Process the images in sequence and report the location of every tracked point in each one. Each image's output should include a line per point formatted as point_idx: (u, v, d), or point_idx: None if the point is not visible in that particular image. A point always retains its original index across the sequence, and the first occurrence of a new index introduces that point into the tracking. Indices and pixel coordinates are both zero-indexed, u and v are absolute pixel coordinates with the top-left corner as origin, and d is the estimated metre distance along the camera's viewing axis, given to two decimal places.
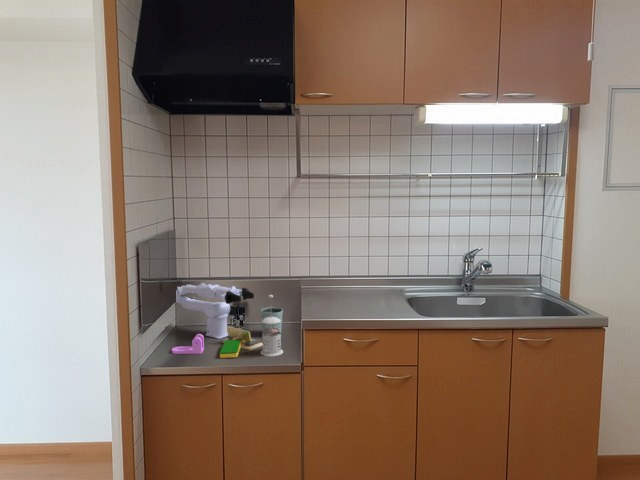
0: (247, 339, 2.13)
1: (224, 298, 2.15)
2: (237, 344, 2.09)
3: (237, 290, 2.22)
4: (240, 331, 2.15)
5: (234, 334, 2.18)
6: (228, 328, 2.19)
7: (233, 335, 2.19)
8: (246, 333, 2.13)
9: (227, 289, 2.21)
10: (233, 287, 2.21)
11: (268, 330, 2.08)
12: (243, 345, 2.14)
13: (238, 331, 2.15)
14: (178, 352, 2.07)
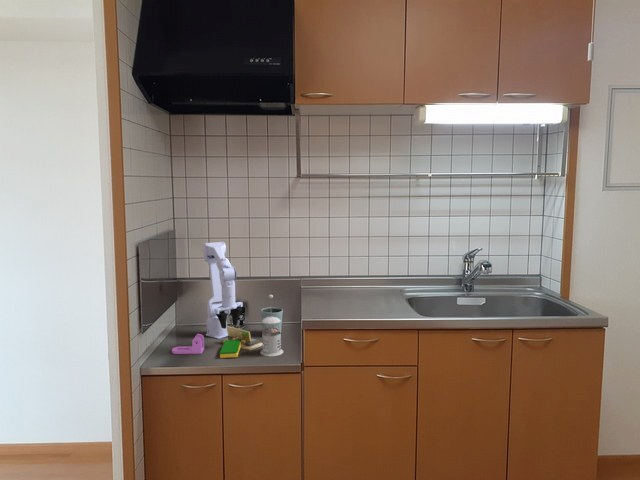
0: (247, 339, 2.13)
1: None
2: (237, 344, 2.09)
3: None
4: (240, 331, 2.15)
5: (234, 334, 2.18)
6: (228, 328, 2.19)
7: (233, 335, 2.19)
8: (246, 333, 2.13)
9: (230, 302, 2.08)
10: None
11: (268, 330, 2.08)
12: (243, 345, 2.14)
13: (238, 331, 2.15)
14: (178, 352, 2.07)
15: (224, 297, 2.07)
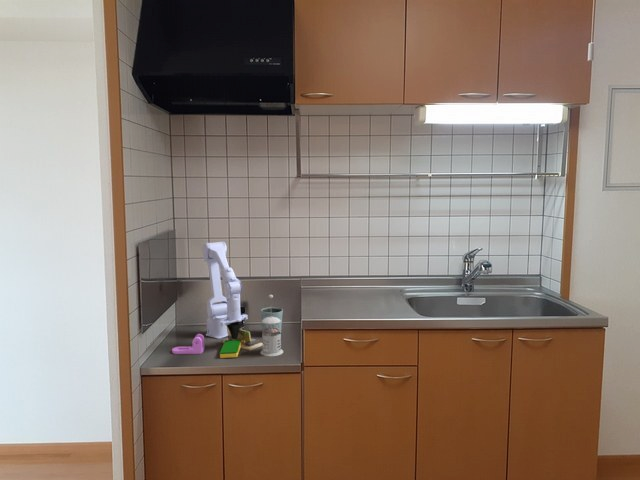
0: (247, 339, 2.13)
1: None
2: (237, 344, 2.09)
3: None
4: (240, 331, 2.15)
5: None
6: None
7: None
8: (246, 333, 2.13)
9: (235, 315, 2.11)
10: (239, 321, 2.11)
11: (268, 330, 2.08)
12: (243, 345, 2.14)
13: None
14: (178, 352, 2.07)
15: (229, 310, 2.11)
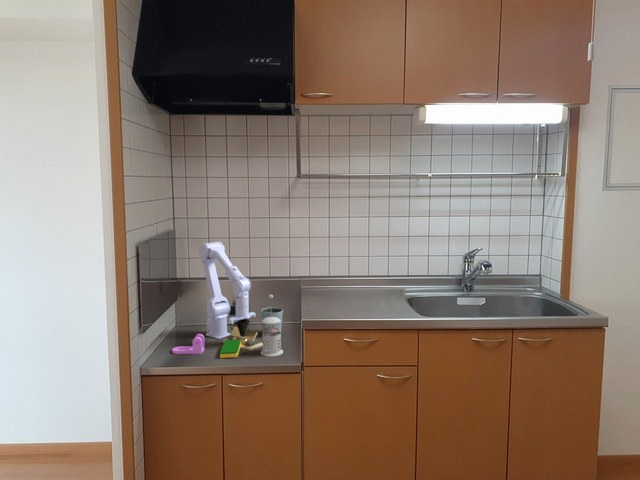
0: (251, 338, 2.15)
1: None
2: (237, 344, 2.09)
3: None
4: (247, 331, 2.18)
5: (239, 333, 2.20)
6: (235, 328, 2.23)
7: (236, 334, 2.20)
8: (253, 333, 2.16)
9: (244, 312, 2.15)
10: None
11: (268, 330, 2.08)
12: (243, 345, 2.14)
13: (246, 331, 2.19)
14: (178, 352, 2.07)
15: (238, 307, 2.14)
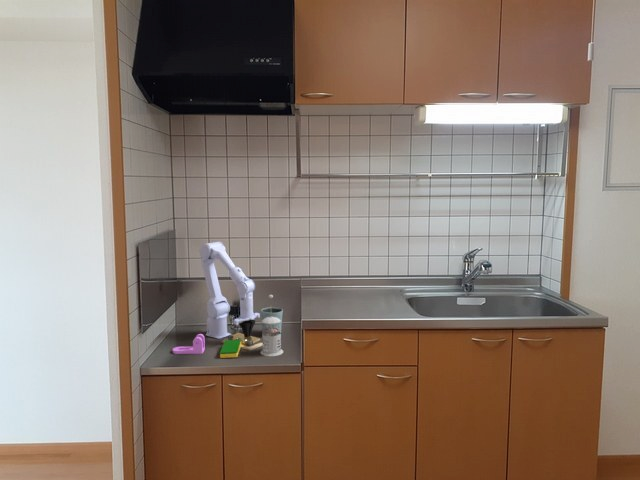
0: (252, 340, 2.16)
1: None
2: (237, 344, 2.09)
3: None
4: (250, 336, 2.20)
5: (241, 336, 2.21)
6: (238, 333, 2.25)
7: (238, 336, 2.21)
8: (256, 338, 2.18)
9: (248, 313, 2.17)
10: None
11: (268, 330, 2.08)
12: (243, 345, 2.14)
13: None
14: (179, 352, 2.07)
15: (242, 308, 2.17)
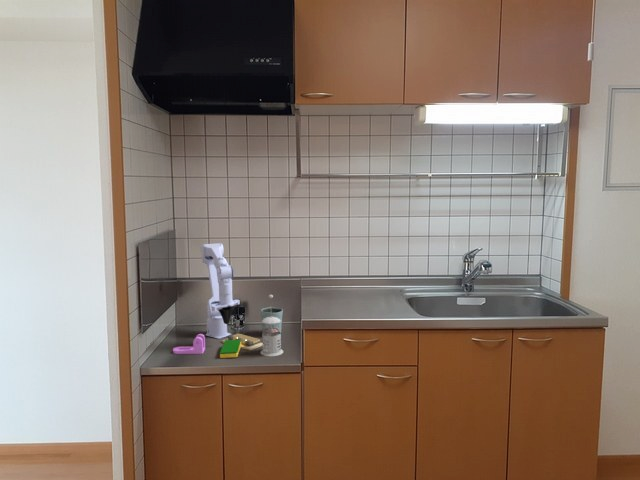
0: (252, 340, 2.16)
1: (214, 310, 2.10)
2: (237, 344, 2.09)
3: None
4: (250, 337, 2.20)
5: (241, 336, 2.21)
6: (238, 334, 2.25)
7: (238, 336, 2.21)
8: (256, 339, 2.18)
9: (227, 299, 2.12)
10: (231, 305, 2.12)
11: (268, 330, 2.08)
12: (243, 345, 2.14)
13: (248, 337, 2.21)
14: (179, 352, 2.07)
15: (221, 295, 2.11)
